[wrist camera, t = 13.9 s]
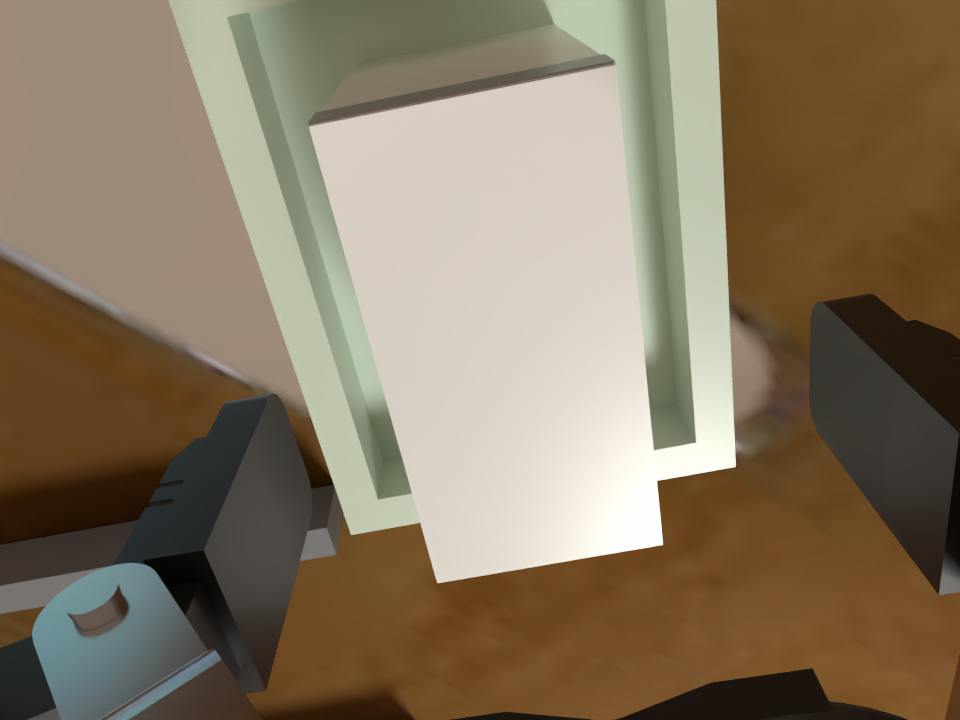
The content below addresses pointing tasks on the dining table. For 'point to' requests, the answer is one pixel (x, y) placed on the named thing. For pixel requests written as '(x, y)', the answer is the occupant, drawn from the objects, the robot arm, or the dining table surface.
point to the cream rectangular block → (500, 294)
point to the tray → (318, 249)
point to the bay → (70, 556)
